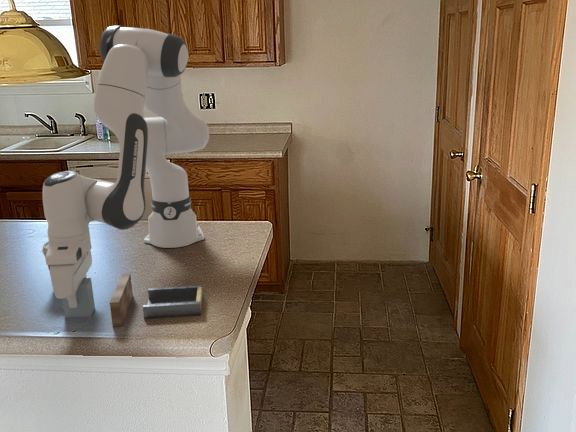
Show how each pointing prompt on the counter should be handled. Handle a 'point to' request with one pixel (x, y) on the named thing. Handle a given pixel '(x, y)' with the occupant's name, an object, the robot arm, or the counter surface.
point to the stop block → (81, 301)
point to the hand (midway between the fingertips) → (78, 299)
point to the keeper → (173, 302)
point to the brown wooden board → (121, 300)
